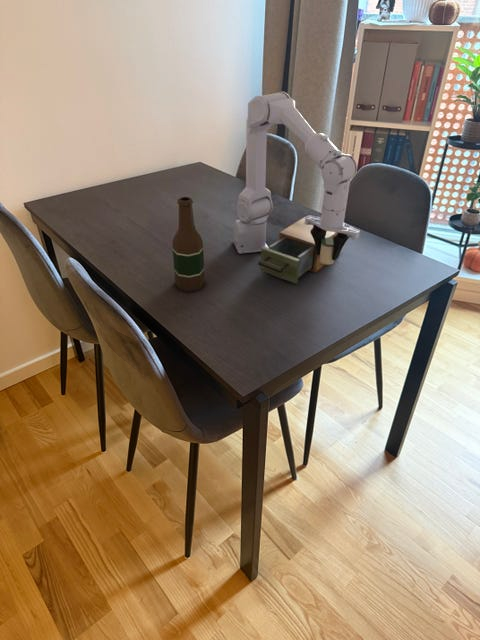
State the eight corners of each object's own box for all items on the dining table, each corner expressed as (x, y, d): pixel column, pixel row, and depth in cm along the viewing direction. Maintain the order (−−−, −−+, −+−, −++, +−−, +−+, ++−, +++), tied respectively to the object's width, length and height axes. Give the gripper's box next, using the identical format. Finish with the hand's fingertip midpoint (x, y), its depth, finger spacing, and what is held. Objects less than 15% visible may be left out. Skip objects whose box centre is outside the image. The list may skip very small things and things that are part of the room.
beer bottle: (175, 277, 131) (169, 192, 117) (204, 276, 132) (201, 192, 118) (175, 292, 125) (168, 205, 111) (204, 291, 126) (201, 204, 112)
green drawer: (286, 290, 125) (287, 267, 121) (250, 276, 130) (251, 254, 127) (319, 264, 136) (322, 243, 132) (285, 252, 142) (287, 231, 138)
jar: (321, 265, 124) (324, 245, 121) (316, 257, 128) (318, 238, 124) (337, 264, 125) (340, 244, 122) (331, 256, 129) (334, 236, 125)
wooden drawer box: (315, 272, 134) (318, 245, 129) (277, 259, 141) (279, 232, 135) (339, 254, 144) (342, 227, 138) (302, 242, 150) (305, 216, 145)
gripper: (368, 209, 117) (359, 258, 125) (316, 195, 124) (311, 242, 132) (355, 218, 112) (347, 269, 120) (302, 203, 119) (297, 252, 127)
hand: (327, 256), depth 126 cm, fingers closed on jar, 4 cm apart
